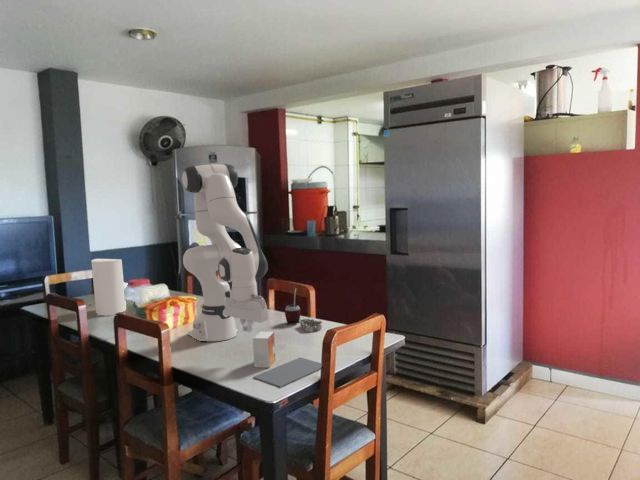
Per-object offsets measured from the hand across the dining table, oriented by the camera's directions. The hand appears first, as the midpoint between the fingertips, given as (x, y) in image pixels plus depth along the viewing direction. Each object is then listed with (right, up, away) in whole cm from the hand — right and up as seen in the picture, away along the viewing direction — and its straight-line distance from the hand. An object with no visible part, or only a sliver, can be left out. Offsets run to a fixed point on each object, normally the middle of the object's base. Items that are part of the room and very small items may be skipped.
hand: (247, 331), depth 177 cm
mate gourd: (+14, -5, +45) cm, 48 cm away
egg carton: (+22, -6, +36) cm, 42 cm away
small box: (+7, -11, -4) cm, 14 cm away
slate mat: (+17, -11, -13) cm, 24 cm away
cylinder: (-82, -5, +81) cm, 115 cm away
